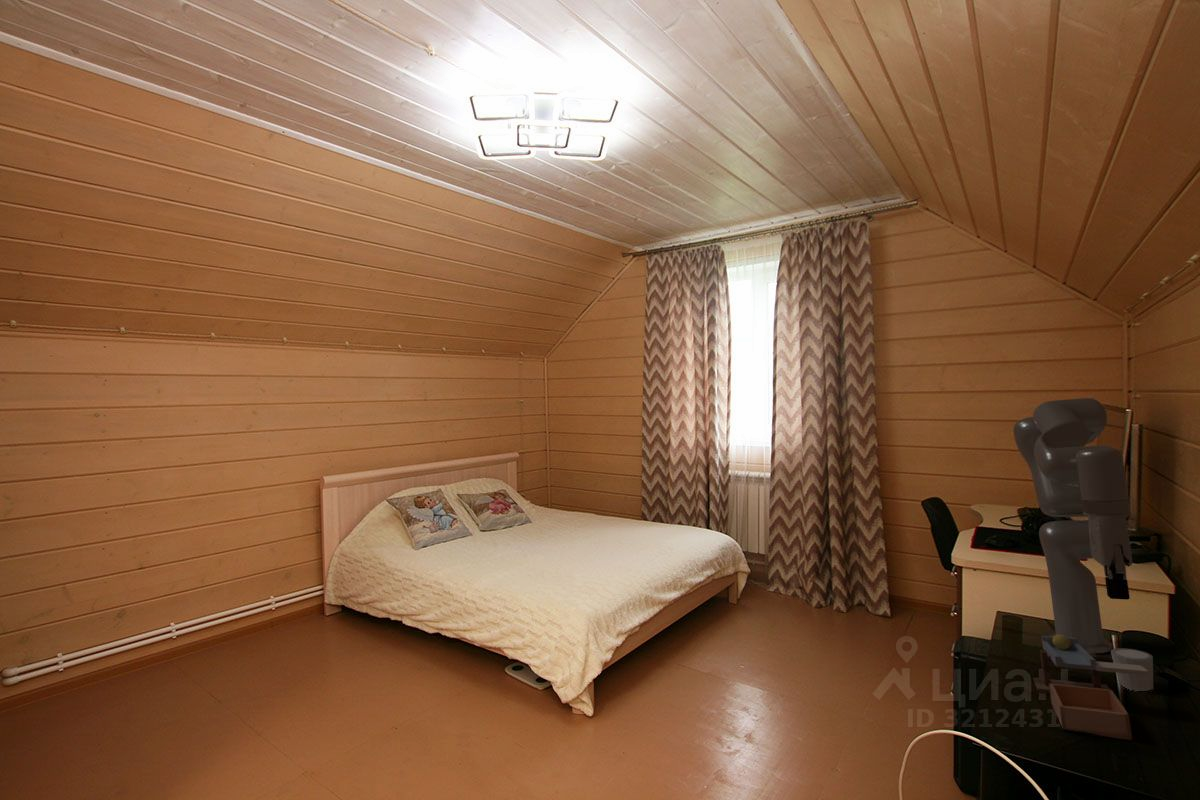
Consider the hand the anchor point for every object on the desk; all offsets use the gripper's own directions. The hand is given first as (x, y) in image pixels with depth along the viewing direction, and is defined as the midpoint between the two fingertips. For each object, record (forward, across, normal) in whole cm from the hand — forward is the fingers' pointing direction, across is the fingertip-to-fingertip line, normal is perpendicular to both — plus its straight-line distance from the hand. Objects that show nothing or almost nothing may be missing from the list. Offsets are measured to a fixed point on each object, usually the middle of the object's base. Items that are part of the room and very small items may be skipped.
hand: (1118, 597), depth 121 cm
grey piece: (+16, -5, -5) cm, 17 cm away
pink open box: (+22, +9, -9) cm, 25 cm away
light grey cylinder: (+22, -11, +3) cm, 25 cm away
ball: (+13, -12, -9) cm, 20 cm away
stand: (+22, -5, -9) cm, 24 cm away
